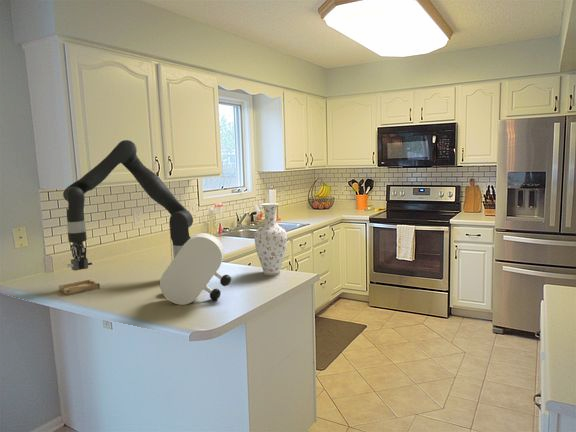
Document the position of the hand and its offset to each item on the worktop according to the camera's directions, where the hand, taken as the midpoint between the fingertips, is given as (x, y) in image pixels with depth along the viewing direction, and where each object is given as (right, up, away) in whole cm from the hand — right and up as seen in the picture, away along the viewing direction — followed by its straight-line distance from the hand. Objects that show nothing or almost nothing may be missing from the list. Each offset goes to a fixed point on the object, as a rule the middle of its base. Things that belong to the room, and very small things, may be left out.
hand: (80, 267), depth 203 cm
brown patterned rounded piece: (+45, -10, -10) cm, 48 cm away
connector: (0, 0, 0) cm, 0 cm away
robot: (+58, -12, -20) cm, 62 cm away
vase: (+87, -5, +20) cm, 89 cm away
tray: (0, -10, +1) cm, 10 cm away
